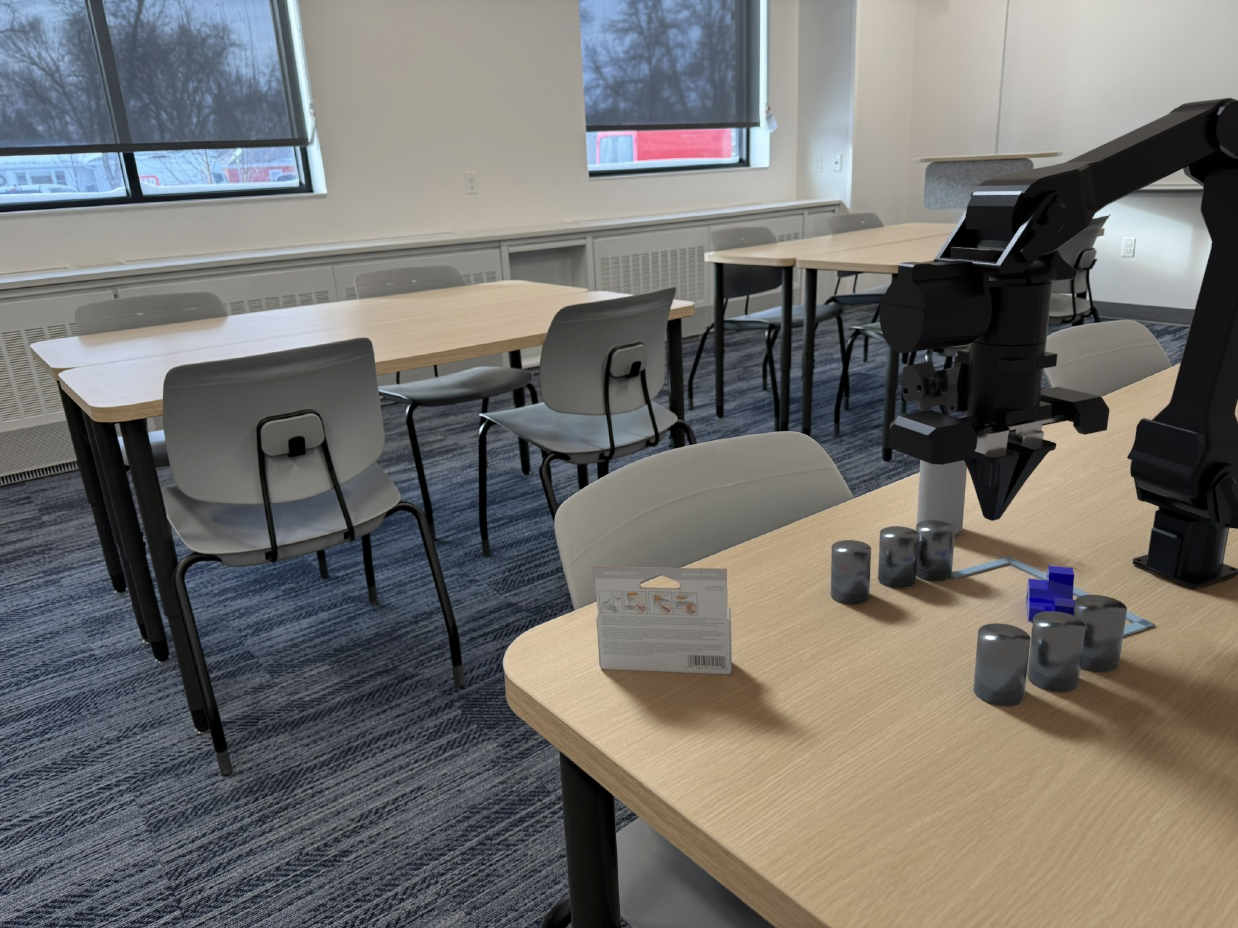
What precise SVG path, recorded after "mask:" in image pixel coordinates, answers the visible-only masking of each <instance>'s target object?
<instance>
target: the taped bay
mask: <svg viewBox="0 0 1238 928" xmlns="http://www.w3.org/2000/svg"><path fill="white" fill-rule="evenodd" d="M1007 565H1011V566H1013V567H1015V568H1017V569H1019V570H1021V571H1022V572H1023V571H1024V572H1026V573H1028V574H1030V575H1032V576H1034V577H1036V578H1037V579H1038V578H1039V580H1046V579H1047V572H1044V571H1042V570H1040V569H1037V568H1035V567H1033V566H1031V565H1028V564H1026V563H1024V562H1022V561H1021V560H1018V559H1016V558H1013V557H1011V556H1007V557H1006V556H1005V557H1002V558H999V559H995V560H991V561H988V562H983V563H980V564H977V565H974V566H973V565H972V566H970V567H965V568H962V569H958V570H954V571H952V575H951V578H953V579H959V578H964V577H966V576H969V575H974V574H977V573H980V572H981V573H982V572H985V571H989V570H992V569H996V568H999V567H1003V566H1007ZM1083 595H1092V594H1091V593H1089V592H1087V591H1085V590H1082V589H1081V588H1078V587H1076V586H1074V585H1073V596H1076V597H1077V598H1078V597H1079V596H1083ZM1126 621H1128V622H1131V623H1128V624H1125V627H1124V634H1123V637H1126V636H1129V635H1132V634H1135V633H1138V632H1141V631H1144V630H1148V629H1150V628H1153V627H1155V623H1154V622H1152V621H1149V620H1148V619H1145V618H1143V617H1141V616H1139V615H1136V614H1134V613H1133V612H1130V611H1128V610H1127V614H1126Z"/></svg>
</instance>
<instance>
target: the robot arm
mask: <svg viewBox="0 0 1238 928" xmlns="http://www.w3.org/2000/svg"><path fill="white" fill-rule="evenodd" d="M1181 170H1182V171H1183V174H1184V175H1185V177H1186V176H1187V177H1188V178H1189V179H1191V180H1192V181H1194V182H1196V183H1197V184H1199V186H1201V187H1202V193H1201V194H1202V195H1201V203H1200V213H1201V216H1202V219H1203V221H1204V224H1205V227H1206V230H1207V232H1208V236H1209V237H1210V240H1211V244H1210V250H1209V254H1208V259H1207V261H1206V262H1207V263H1206V265H1205V269H1204V273H1203V277H1202V281H1201V284H1200V288H1199V292H1198V295H1197V299H1196V303H1195V307H1194V311H1193V314H1192V315H1193V316H1192V319H1191V322H1190V326H1189V330H1188V333H1187V337H1186V341H1185V345H1184V349H1183V353H1182V356H1181V360H1180V363H1179V367H1178V372H1177V376H1176V379H1175V382H1174V387H1173V390H1172V394H1171V396H1170V397H1171V398H1170V399H1169V400H1170V401H1169V402H1168V404H1167V405H1166V406H1165V407H1164V408H1162V410H1160V411H1159V412H1158V413H1157V414H1156V415H1155V416H1154V417H1153V418H1152V419H1149V418H1145V417H1143V418H1141V419H1140V420H1139V421H1138V423H1137V425H1136V429H1135V436H1134V442H1133V444H1132V447H1131V450H1130V452H1129V453H1128V454H1127V457H1126V458H1127V459H1128V460H1130V466H1129V467H1130V468H1129V471H1130V472H1129V473H1130V477H1131V478H1133V482H1134V487H1135V491H1136V497H1137V498H1136V499H1137V500H1138V501H1140V502H1142V503H1148V504H1150V505H1152V506H1156V507H1158V509H1157V510H1155V512H1154V518H1153V524H1152V528H1151V530H1150V537H1149V544H1148V550H1147V553H1146V554H1144V555H1141V556H1138V557H1134V558H1132V562H1131V564H1133V565H1134V566H1136V567H1140V568H1141V569H1144V570H1146V571H1148V572H1151V573H1154V574H1156V575H1158V576H1161V577H1162V578H1165V579H1168V580H1171V581H1173V582H1175V583H1178V584H1180V585H1183V586H1185V587H1188V588H1190V589H1199V588H1201V587H1205V586H1208V585H1210V584H1215V583H1217V582H1220V581H1223V580H1226V579H1229V578H1233V577H1235V576H1238V568H1236V567H1235V566H1234V567H1233V566H1232V565H1228V564H1226V563H1224V561H1225V560H1224V559H1225V555H1226V548H1227V544H1228V538H1229V532H1230V529H1234V530H1238V419H1237V418H1238V417H1237V416H1236V408H1237V405H1238V100H1237V99H1235V98H1232V97H1227V98H1226V97H1225V98H1217V99H1209V100H1199V101H1191V102H1185V103H1182V104H1180V105H1179V106H1178V107H1175V108H1173V109H1172V110H1171V111H1170V112H1169V113H1168V114H1166V115H1163V116H1162V117H1159V118H1156V119H1155V120H1152V121H1151V122H1149V123H1146V124H1144V125H1142V126H1139V127H1138V128H1135V129H1134V130H1131V131H1130V132H1127V133H1125V134H1123V135H1121V136H1119V137H1116V138H1114V139H1112V140H1110V141H1108V142H1106V143H1103V144H1101V145H1099V146H1097V147H1095V148H1093V149H1091V150H1089V151H1086V152H1085V153H1083V154H1079V155H1078V156H1076V157H1074V158H1072V159H1069V160H1067V161H1065V162H1062V163H1057V164H1053V165H1047V166H1042V167H1036V168H1031V169H1025V170H1020V171H1015V172H1011V173H1008V174H1004V175H1003V174H1002V175H999V176H994V177H991V178H988V179H986V180H984V181H983V182H981V183H979V184H978V185H976V187H975V188H974V189H973V190H972V191H971V192H970V199H969V200H968V201H969V202H968V203H967V207H966V210H965V211H964V213H963V214H962V216H961V218H960V219H959V220H958V222H957V223H956V225H955V227H954V228H953V229H952V230H951V232H950V234H949V236H948V237H947V239H946V241H945V242H944V243H943V245H942V247H941V248H940V249H939V251H938V253H937V255H935V258H933V262H919V261H908V262H907V261H906V262H905V261H904V262H900V263H899V264H898V267H897V279H895V280H894V281H892V282H891V283H890V285H889V286H888V287H887V288H886V291H885V293H884V295H883V300H882V302H880V303H879V311H878V315H879V316H878V317H879V318H878V319H879V326H880V329H881V333H882V336H883V339H884V340H885V341H886V344H887V345H888V347H890V348H891V349H892V350H893V351H895V352H897V353H899V354H905V353H914V352H923V351H929V350H930V351H931V350H937V349H945V348H946V349H948V348H953V347H954V348H956V347H962V346H967V345H968V348H963V349H958V350H957V352H956V354H955V355H954V357H953V366H952V367H950V368H945V369H939V370H936V369H934V367H933V365H932V363H931V362H929V361H926V362H919V363H913V364H909V365H906V366H903V367H902V374H901V375H902V376H901V381H900V386H901V387H900V388H901V392H902V397H903V400H904V401H906V402H907V403H912V402H917V404H918V408H919V411H916V412H912V413H911V412H910V413H906V414H901V415H897V416H896V418H895V419H893V420H892V421H891V422H890V424H889V429H888V449H891V450H894V451H895V452H899V453H901V454H903V455H907V456H909V457H912V458H913V459H914V458H915V459H917V460H919V461H920V460H922V461H925V462H927V463H930V464H938V465H944V464H948V463H953V462H958V461H963V460H964V462H965V464H966V466H967V472H968V474H969V475H970V478H971V481H972V485H973V487H974V491H975V493H976V497H977V500H978V503H979V508H980V509H981V510H980V511H981V513H982V516H983V518H984V519H986V520H989V521H991V522H994V521H997V520H1000V519H1001V518H1002V517H1003V514H1004V513H1005V512H1006V511H1007V509H1008V507H1009V506H1010V505H1011V503H1012V502H1013V501H1014V499H1015V497H1016V496H1017V495H1018V493H1019V492H1020V490H1021V489H1022V487H1023V486H1024V484H1025V483H1026V482H1027V481H1028V479H1029V478H1030V477H1031V475H1032V474H1033V473H1034V471H1035V470H1036V469H1037V468H1038V466H1039V465H1040V463H1042V461H1043V460H1044V459H1045V458H1046V456H1047V455H1048V454H1049V453H1050V452H1052V451H1055V450H1056V449H1057V443H1056V442H1054V441H1052V440H1047V439H1044V432H1045V431H1043V426H1047V425H1053V424H1058V423H1059V424H1060V423H1062V422H1063V423H1064V422H1070V423H1071V422H1072V426H1073V428H1074V429H1075V430H1076V431H1077V433H1078V434H1080V435H1084V436H1086V435H1090V434H1095V433H1099V432H1100V433H1101V432H1105V431H1108V424H1109V417H1110V407H1109V406H1108V405H1107V402H1105V400H1104V398H1103V397H1102V396H1101V395H1096V394H1092V393H1088V392H1083V391H1078V390H1075V389H1070V388H1066V387H1061V386H1056V387H1048V388H1043V378H1044V369H1049V368H1054V367H1057V363H1058V362H1057V361H1058V353H1055V352H1050V351H1049V352H1048V351H1046V349H1047V339H1048V331H1049V330H1048V329H1049V323H1050V322H1049V321H1050V320H1049V319H1050V313H1051V312H1050V310H1051V302H1052V301H1051V300H1052V291H1053V282H1058V281H1068V280H1074V279H1075V278H1076V277H1077V274H1078V271H1077V270H1076V269H1075V268H1074V267H1073V266H1072V265H1071V264H1070V263H1069V262H1067V261H1066V260H1065V259H1064V258H1063V257H1062V255H1061V254H1060V251H1059V249H1060V248H1062V247H1063V246H1065V245H1066V244H1068V243H1069V242H1071V240H1073V239H1074V238H1076V237H1077V236H1078V235H1080V234H1081V233H1083V232H1084V231H1085V230H1086V229H1087V228H1088V227H1089V226H1090V224H1091V222H1092V220H1093V219H1094V217H1095V214H1097V213H1098V212H1099V211H1101V210H1102V209H1104V208H1105V207H1107V206H1109V205H1111V204H1113V203H1114V202H1116V201H1119V200H1121V199H1123V198H1126V197H1127V196H1129V195H1131V194H1133V193H1135V192H1137V191H1139V190H1141V189H1144V188H1146V187H1148V186H1150V185H1151V184H1153V183H1156V182H1158V181H1160V180H1162V179H1164V178H1166V177H1169V176H1170V175H1173V174H1174V173H1176V172H1179V171H1181ZM942 405H943V406H944V407H946V410H947V411H950V412H954V413H964V417H960V418H959V417H955V416H952V415H950V414H946V413H942V412H939V411H935V410H933V409H930V408H932V407H937V406H938V407H939V406H942Z"/></svg>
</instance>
